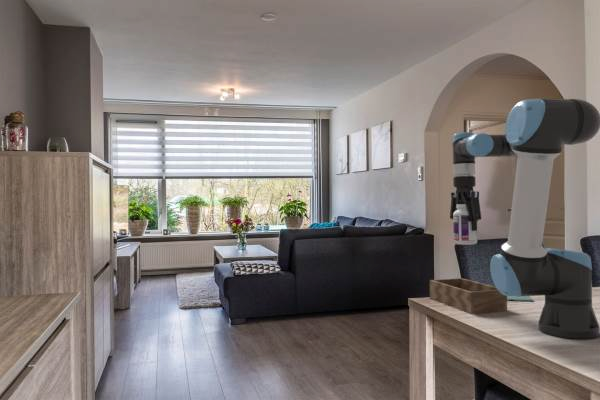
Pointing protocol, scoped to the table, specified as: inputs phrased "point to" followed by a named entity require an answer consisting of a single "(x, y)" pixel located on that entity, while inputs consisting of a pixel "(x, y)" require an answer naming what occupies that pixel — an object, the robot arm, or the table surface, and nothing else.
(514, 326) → the table surface
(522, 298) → the mat
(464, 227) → the pill bottle
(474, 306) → the crate
